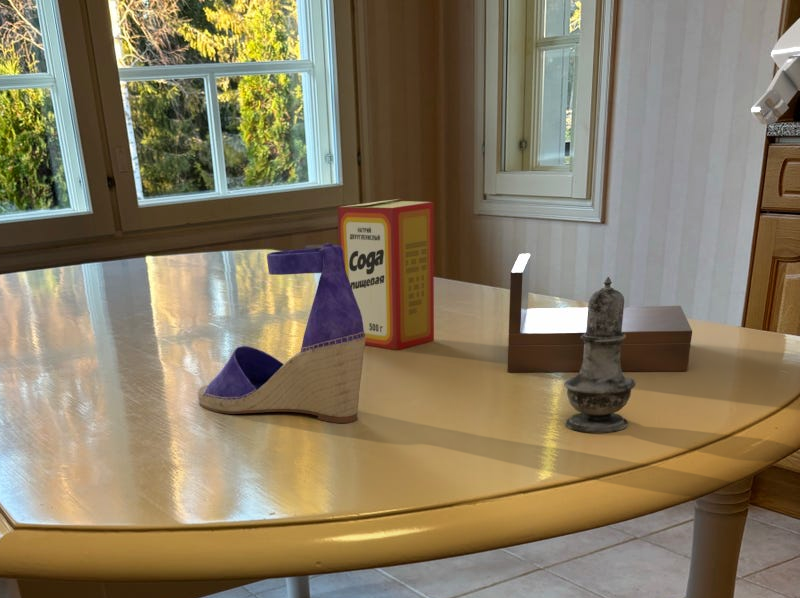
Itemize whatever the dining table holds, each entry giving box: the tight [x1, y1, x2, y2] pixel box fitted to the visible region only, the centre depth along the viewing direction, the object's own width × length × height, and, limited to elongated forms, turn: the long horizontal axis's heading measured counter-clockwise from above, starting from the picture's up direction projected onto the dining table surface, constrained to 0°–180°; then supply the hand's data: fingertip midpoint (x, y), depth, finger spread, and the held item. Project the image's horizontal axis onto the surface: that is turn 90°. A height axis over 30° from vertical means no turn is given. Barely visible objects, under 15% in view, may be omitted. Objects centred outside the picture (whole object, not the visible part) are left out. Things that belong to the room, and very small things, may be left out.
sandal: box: [197, 242, 366, 424], centre depth 87 cm, size 8×20×15 cm, turn 45°
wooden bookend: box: [507, 253, 693, 373], centre depth 100 cm, size 18×14×10 cm
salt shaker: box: [563, 276, 637, 434], centre depth 77 cm, size 6×6×12 cm
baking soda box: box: [336, 198, 435, 351], centre depth 113 cm, size 10×6×16 cm
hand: (788, 118), depth 69 cm, fingers open, 8 cm apart
